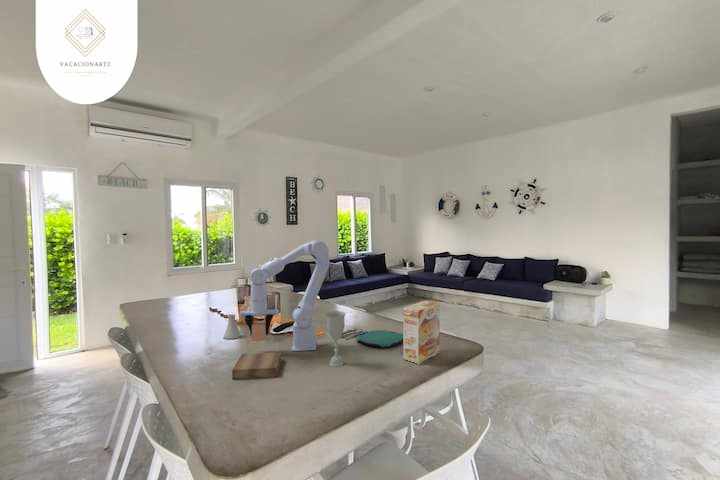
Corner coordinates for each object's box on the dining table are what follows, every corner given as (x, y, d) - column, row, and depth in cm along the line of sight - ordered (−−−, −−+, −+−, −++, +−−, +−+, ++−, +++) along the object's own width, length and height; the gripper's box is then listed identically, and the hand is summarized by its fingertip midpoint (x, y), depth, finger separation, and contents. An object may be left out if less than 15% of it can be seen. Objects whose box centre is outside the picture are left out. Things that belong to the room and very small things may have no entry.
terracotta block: (267, 336, 137) (267, 321, 137) (265, 340, 132) (265, 324, 132) (254, 336, 136) (254, 321, 136) (252, 341, 131) (251, 325, 131)
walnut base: (281, 360, 127) (281, 352, 127) (276, 376, 113) (276, 367, 113) (242, 362, 126) (242, 354, 126) (232, 379, 112) (232, 370, 112)
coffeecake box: (419, 365, 121) (418, 310, 120) (402, 360, 126) (402, 307, 125) (440, 353, 132) (440, 302, 131) (424, 348, 137) (424, 300, 136)
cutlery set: (387, 353, 133) (387, 347, 133) (330, 339, 152) (330, 333, 152) (413, 340, 149) (413, 334, 149) (359, 328, 167) (359, 324, 167)
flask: (235, 340, 150) (234, 317, 150) (220, 339, 152) (219, 316, 151) (243, 335, 157) (243, 313, 157) (229, 334, 159) (228, 312, 158)
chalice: (330, 369, 119) (329, 317, 118) (323, 362, 125) (322, 312, 124) (349, 364, 122) (349, 314, 121) (341, 358, 128) (341, 310, 127)
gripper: (279, 296, 138) (280, 330, 139) (241, 298, 137) (242, 332, 137) (277, 300, 131) (277, 335, 132) (237, 302, 130) (238, 337, 130)
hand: (259, 334), depth 134 cm, fingers closed on terracotta block, 5 cm apart
